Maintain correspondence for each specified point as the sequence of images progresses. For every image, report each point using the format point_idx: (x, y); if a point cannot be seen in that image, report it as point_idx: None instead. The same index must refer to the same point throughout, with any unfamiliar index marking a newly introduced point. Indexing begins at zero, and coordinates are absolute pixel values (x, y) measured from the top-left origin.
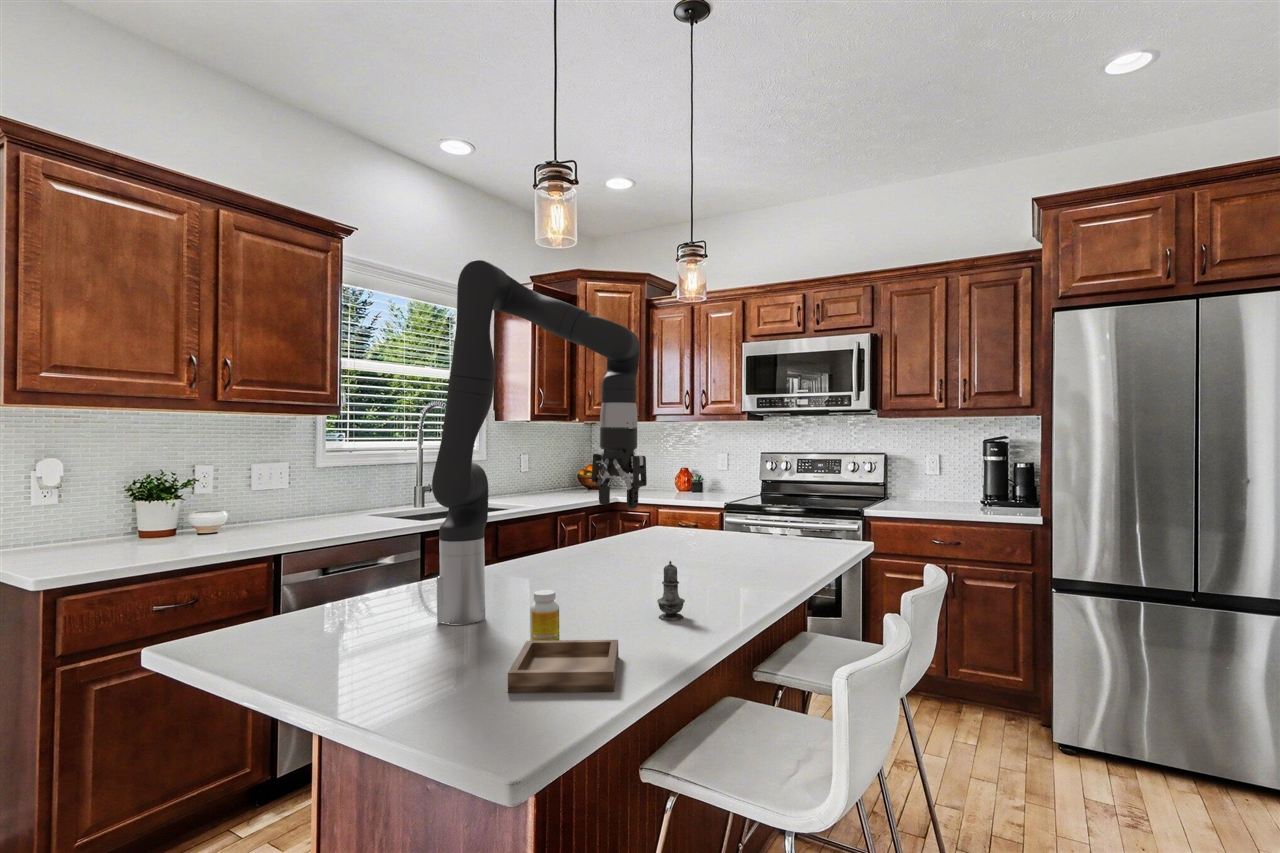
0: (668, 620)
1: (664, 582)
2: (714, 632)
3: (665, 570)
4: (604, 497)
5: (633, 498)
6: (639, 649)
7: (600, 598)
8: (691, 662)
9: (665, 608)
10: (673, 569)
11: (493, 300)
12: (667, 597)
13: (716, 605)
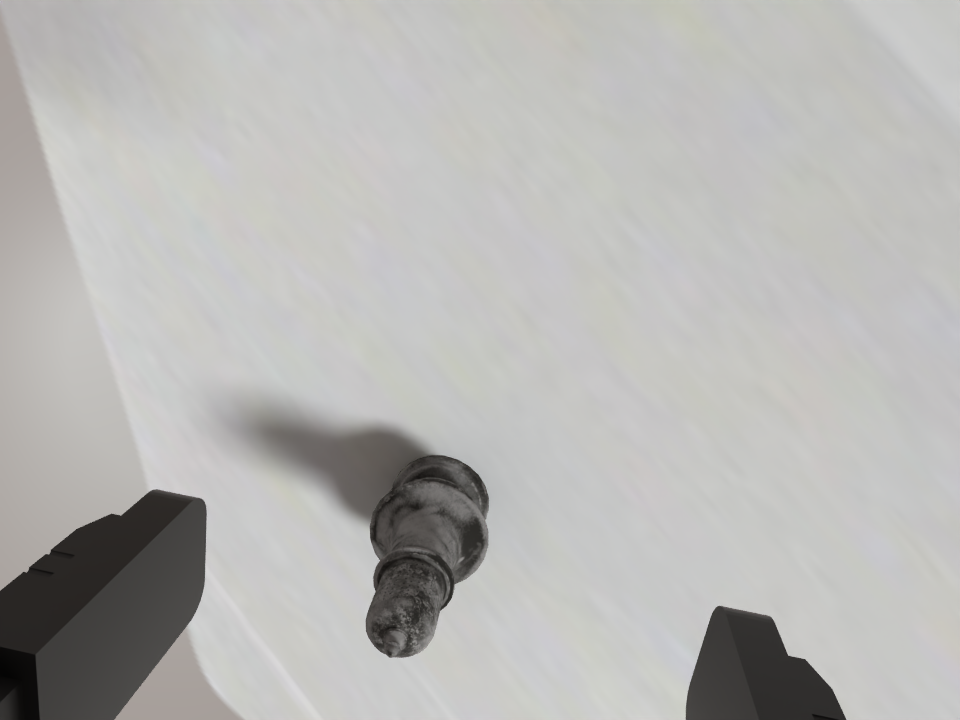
0: (418, 460)
1: (425, 558)
2: (198, 428)
3: (405, 594)
4: (723, 710)
5: (27, 575)
6: (262, 97)
7: (889, 588)
8: (29, 94)
9: (421, 479)
10: (368, 613)
11: None
12: (416, 517)
13: (407, 710)
